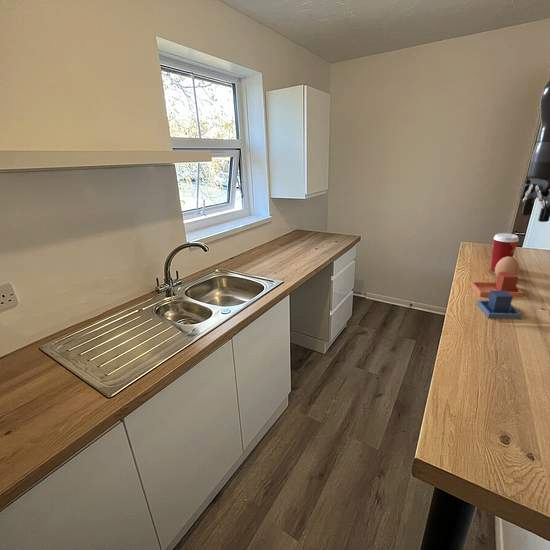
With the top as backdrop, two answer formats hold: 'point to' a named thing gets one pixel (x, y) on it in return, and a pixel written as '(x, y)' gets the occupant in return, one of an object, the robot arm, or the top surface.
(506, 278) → the terracotta pillar
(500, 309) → the slate pillar
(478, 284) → the terracotta tray
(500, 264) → the egg
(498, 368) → the top surface
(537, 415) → the top surface
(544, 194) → the robot arm
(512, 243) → the paper cup
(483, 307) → the slate tray
